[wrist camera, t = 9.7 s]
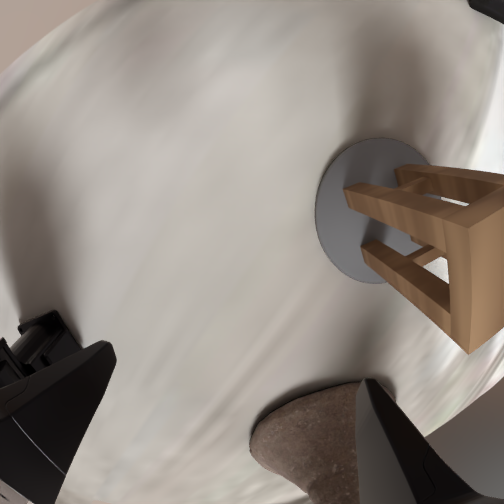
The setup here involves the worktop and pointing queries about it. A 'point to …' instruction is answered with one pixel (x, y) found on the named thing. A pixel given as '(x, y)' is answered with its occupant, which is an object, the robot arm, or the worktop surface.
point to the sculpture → (314, 444)
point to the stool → (443, 245)
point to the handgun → (489, 8)
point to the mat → (355, 223)
